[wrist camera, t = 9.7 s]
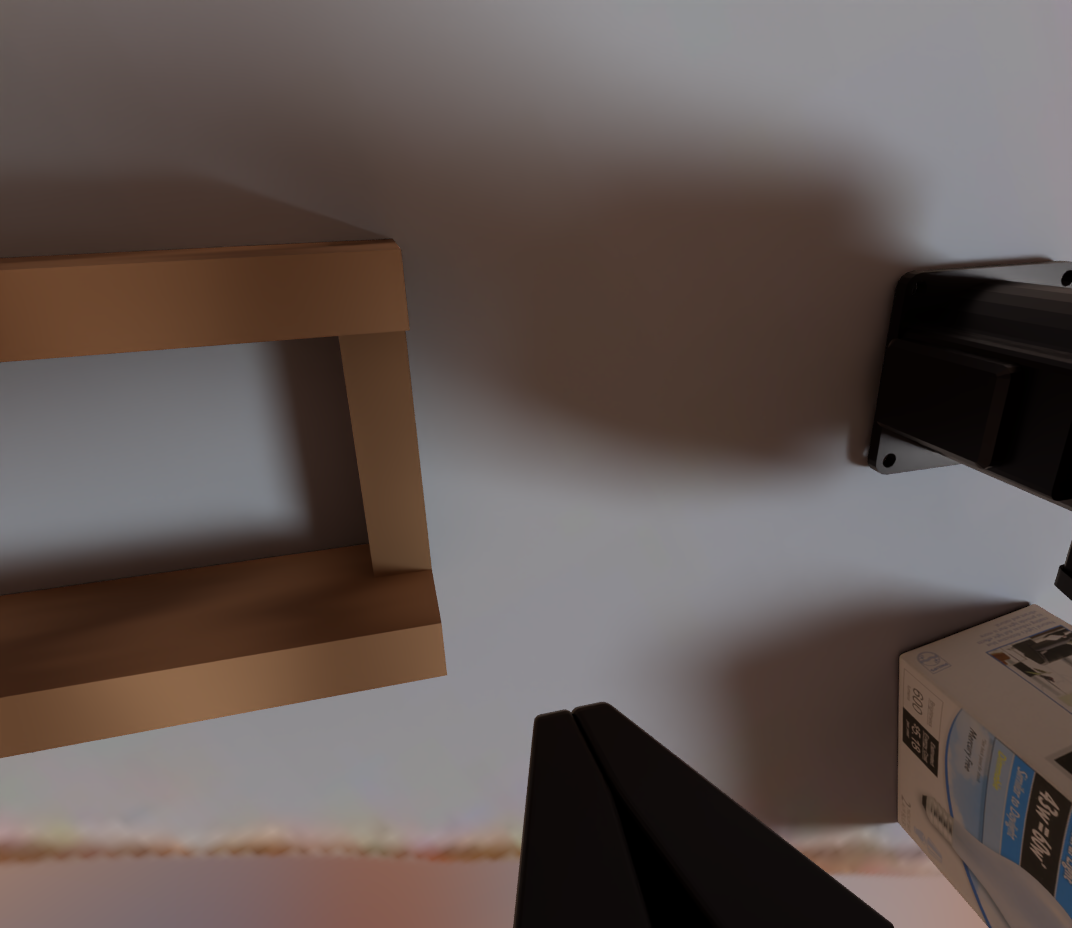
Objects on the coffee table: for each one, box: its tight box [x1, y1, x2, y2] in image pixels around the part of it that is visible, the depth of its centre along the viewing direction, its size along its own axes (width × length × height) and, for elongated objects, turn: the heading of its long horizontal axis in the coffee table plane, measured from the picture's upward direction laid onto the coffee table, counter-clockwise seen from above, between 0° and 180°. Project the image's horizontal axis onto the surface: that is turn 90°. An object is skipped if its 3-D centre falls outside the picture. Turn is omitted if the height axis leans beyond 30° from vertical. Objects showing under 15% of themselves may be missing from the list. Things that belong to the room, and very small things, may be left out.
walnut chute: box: [0, 239, 447, 758], centre depth 14 cm, size 18×10×4 cm, turn 92°
